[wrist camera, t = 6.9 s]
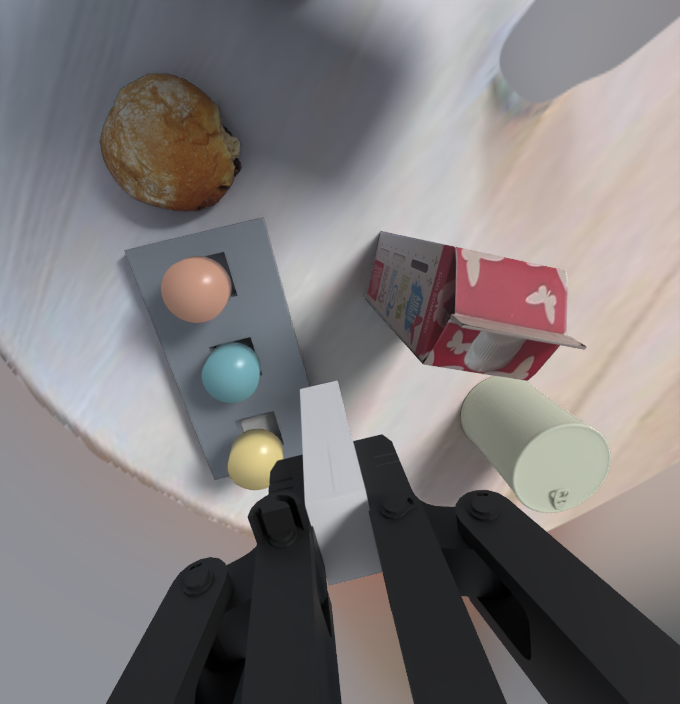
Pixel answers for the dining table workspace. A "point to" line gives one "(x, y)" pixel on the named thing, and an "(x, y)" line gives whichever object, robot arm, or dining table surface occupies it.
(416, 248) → the juice carton
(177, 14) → the dining table surface
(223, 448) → the button board
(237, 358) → the teal button
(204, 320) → the terracotta button
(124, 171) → the bread roll
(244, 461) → the mustard button
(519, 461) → the can
